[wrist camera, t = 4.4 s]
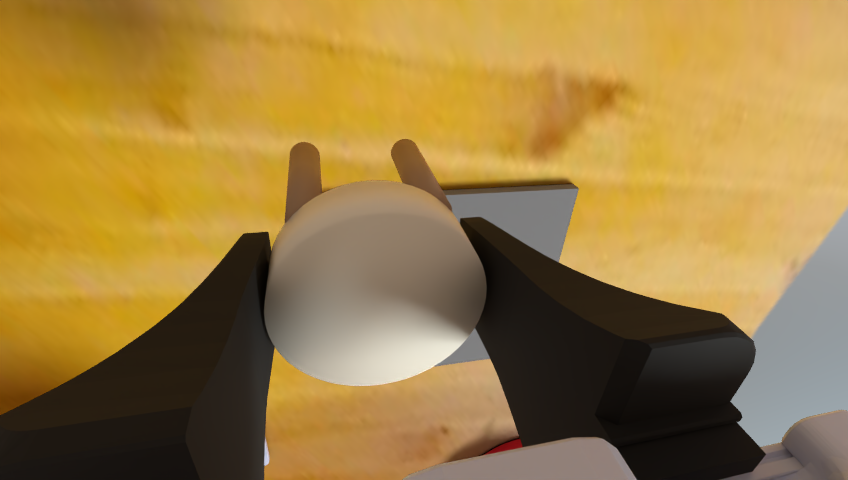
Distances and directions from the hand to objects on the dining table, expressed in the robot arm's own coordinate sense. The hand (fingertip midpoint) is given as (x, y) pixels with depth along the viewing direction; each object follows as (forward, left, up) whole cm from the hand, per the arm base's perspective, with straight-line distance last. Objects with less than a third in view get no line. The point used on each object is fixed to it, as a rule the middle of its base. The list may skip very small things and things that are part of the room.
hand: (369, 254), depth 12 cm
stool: (0, 0, -3) cm, 3 cm away
